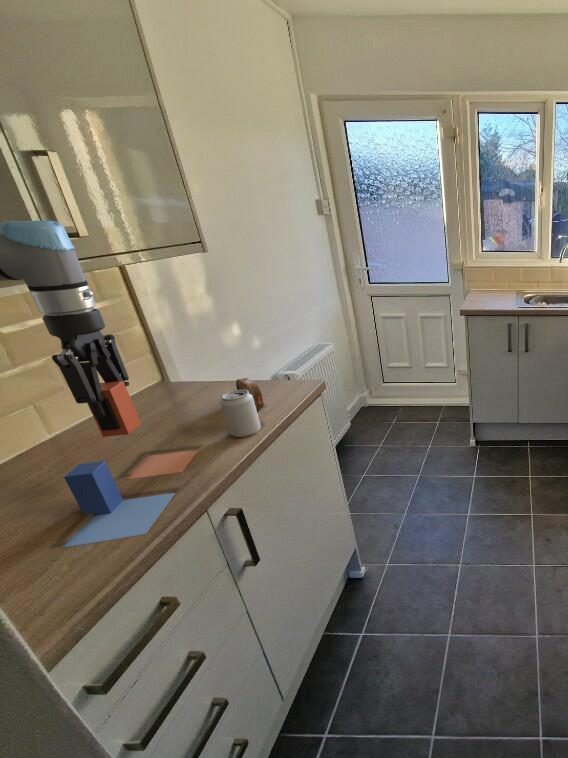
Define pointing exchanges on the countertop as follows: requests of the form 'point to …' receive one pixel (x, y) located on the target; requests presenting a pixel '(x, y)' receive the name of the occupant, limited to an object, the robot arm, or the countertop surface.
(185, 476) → the countertop surface
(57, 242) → the robot arm
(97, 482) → the blue block
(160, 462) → the terracotta mat
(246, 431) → the can
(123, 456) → the countertop surface
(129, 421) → the terracotta block
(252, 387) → the brown curved piece
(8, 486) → the countertop surface
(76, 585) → the countertop surface
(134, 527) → the blue mat
